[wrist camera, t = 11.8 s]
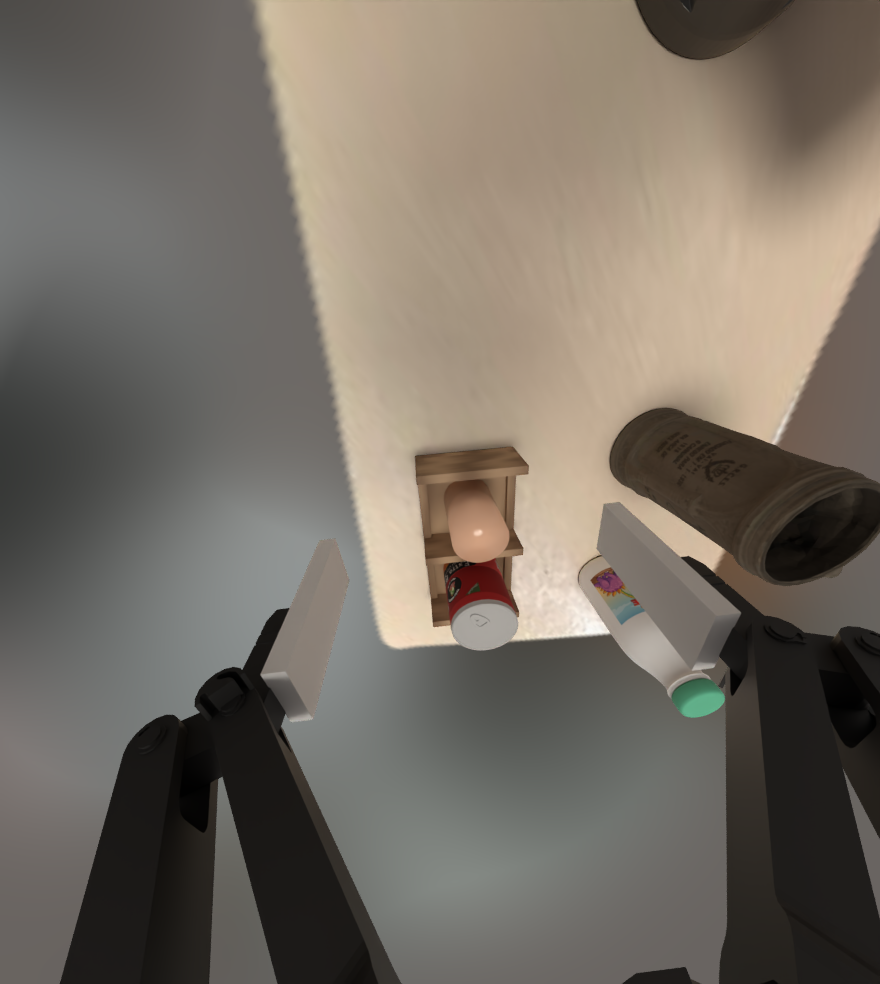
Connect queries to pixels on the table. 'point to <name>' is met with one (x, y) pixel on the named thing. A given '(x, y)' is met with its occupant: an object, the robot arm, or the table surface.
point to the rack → (432, 483)
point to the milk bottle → (647, 641)
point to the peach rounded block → (474, 521)
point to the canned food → (479, 605)
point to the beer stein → (750, 495)
